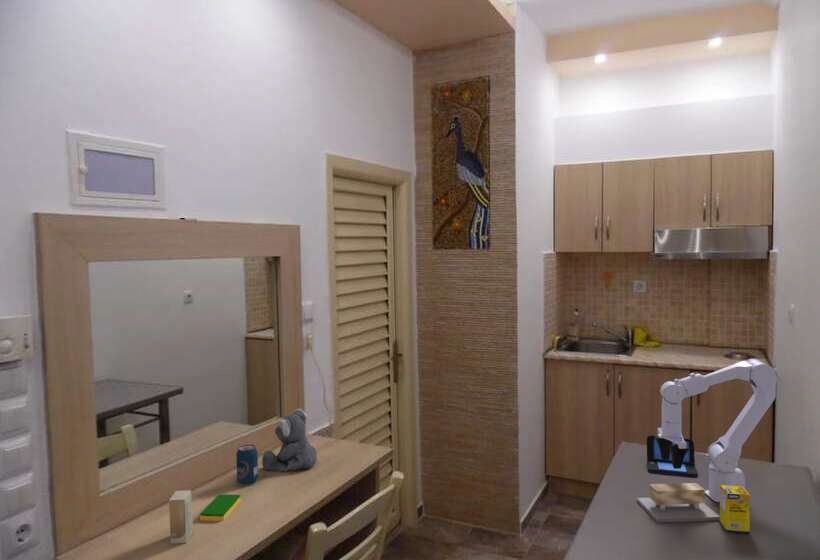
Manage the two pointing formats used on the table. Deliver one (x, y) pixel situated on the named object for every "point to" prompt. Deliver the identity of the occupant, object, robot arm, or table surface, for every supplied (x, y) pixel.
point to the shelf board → (677, 493)
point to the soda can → (247, 465)
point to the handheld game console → (670, 460)
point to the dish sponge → (220, 508)
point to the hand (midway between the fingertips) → (671, 463)
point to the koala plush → (291, 445)
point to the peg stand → (678, 511)
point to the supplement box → (735, 509)
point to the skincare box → (180, 516)
